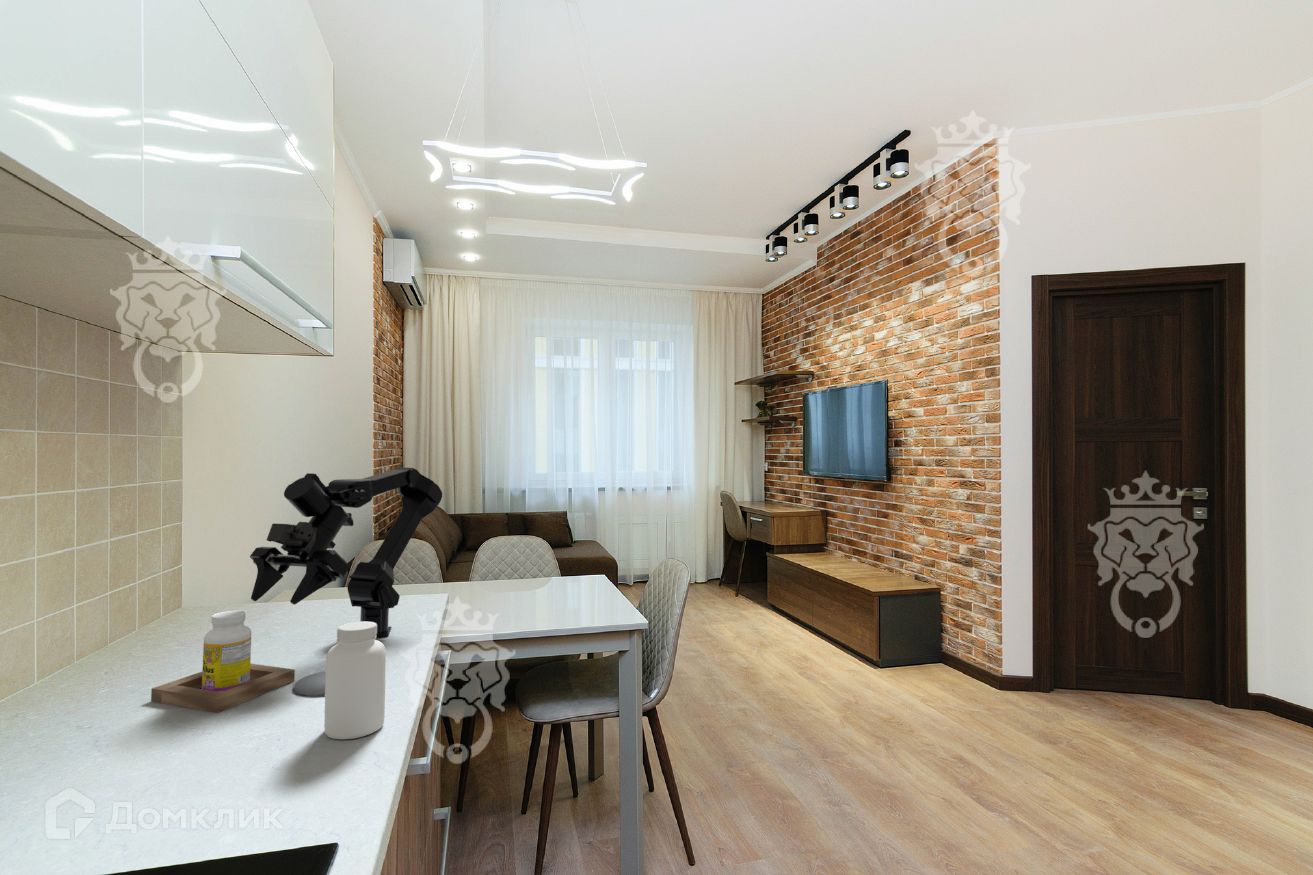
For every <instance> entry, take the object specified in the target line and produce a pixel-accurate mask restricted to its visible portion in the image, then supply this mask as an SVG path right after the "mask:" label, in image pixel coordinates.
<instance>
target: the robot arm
mask: <svg viewBox="0 0 1313 875" xmlns="http://www.w3.org/2000/svg"><path fill="white" fill-rule="evenodd" d="M396 489H397V491H398V493H399V494H400V495H401V496H402V497H401V509H402V510H401V512H400V514H398V516H397V518H396V520H395V522H394V523H393V525H392V527H391V528H390V530H389V531H388V533H387V535H386V536H385V538H384V540H383V541H382V543H381V545H380V547H379V548H378V550H377V552H376V553H375V554H374V556H373V558H372V559H371V560H370V561H367V562H365V561H360V562H358V563H357V565H356V567H355V569H354V571H353V572H352V574H351V575H349V581H348V584H347V593H348V597H349V600H350V604H351V606H352V607H358V608H360V620H359V622H362V621H368V622H374V623H376V624H377V634H376V636H377V637H376V638H379V637H380V638H382V637H388V636H390V633H391V630H392V626H389V613H390V610H389V609H393V608H395V607H397V606H398V605H399V601H400V597H401V596H400V594H399V593H398V592H397V591H396V589H395V588H394V587H393V585H394V583H395V576H394V570H395V569H394V568H395V567H396V565H397V563H398V562H399V559H400V558H401V556H402V554H403V553H404V551H405V550H406V547H407V546H408V544H409V542H410V540H411V539H412V537H413V535H414V533H415V531H416V530H417V528H418V526H419V524H420V523H421V522H422V520H423V519H424V518H425V517H427V516H428V515H430V514H431V513H433V512H434V511H435V510H436V508H437V507H438V506H439V505H440V503H441V501H442V499H443V491H442V489H441V488H440V486H439V485H438V484H436V482H435V481H434V480H432V479H431V478H428V477H427V476H425V475H423V474H422V473H420V471H419V470H417V469H416V468H414V467H397V468H395V469H392V470H388V471H386V472H381V473H378V474H375V475H371V476H368V477H363V478H348V479H346V478H345V479H344V478H343V479H333V480H331V481H330V482H328V485H325V484H324V483H323V482H322V481H321V478H320V477H319V475H317V473H313V472H312V473H309V472H308V473H307V472H306V474H305V475H304V477H301V478H297V479H296V480H295V481H293V482H292V483H290V484H288V485H287V486H286V488H285V489H284V491H283V496H284V498H285V499H286V500H287V501H288V502H289V503H290V504H291V505H292V506H293V507H294V509H296V510H297V511H298V512H299V513H300V515H301V516H302V517H305V518H310V517H311V518H310V519H309V521H299V522H298V523H297V524H290V523H272V525H271V527H270V529H269V531H268V535H267V537H266V541H267V542H269V543H270V542H274V543H277V544H279V545H280V544H281V546H280V549H282V550H283V551H284V552H287V554H284V553H283V552H281V551H280V550H279V549H278V548H277V547H276V546H259V547H255V549H254V550H253V551H252V552H251V554H250V556H249V558H250V559H251V560H252V562H253V564H254V565H255V566H256V569H257V573H256V579H255V582H254V586H253V589H252V592H251V596H250V599H251V600H252V601H253V602H257V601H258V600H260V599H261V598H262V597H263V596H264V595H266V593H268V592H269V591H270V589H271V588H273V587H274V586H275V585H276V584H277V583H278V582H279V581H280V580H282V578H284V573H286V572H287V571H288V570H289V568H290V567H301V568H305V574H304V576H303V577H302V579H301V581H300V582H299V584H298V586H296V587H297V588H296V589H295V591H293V595H292V596H291V599H290V601H289V602H290V604H291V605H293V606H294V605H297V604H298V603H300V602H302V601H303V600H304V599H306V598H307V597H309V596H310V595H312V594H314V593H315V592H316V591H318V590H321V588H323V587H325V586H326V585H328V584H330V583H332V582H336V581H337V579H344V577H345V575H346V574H347V572H348V570H349V564H348V562H347V561H346V560H345V559H344V557H342V556H341V555H340V554H339V553H338V552H337V551H336V550H335V549H334V548H335V546H336V544H337V543H335V542H334V539H335V538H336V537H337V535H338V534H339V532H340V530H341V529H342V527H353V526H354V519H353V517H352V513H351V512H347V511H346V510H345V509H344V508H349V509H350V508H351V509H357V508H361V507H363V506H364V505H366V504H368V503H370V502H371V501H372V500H373V498H374V497H376V496H378V495H380V494H384V493H387V492H390V491H393V490H396Z"/></svg>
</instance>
